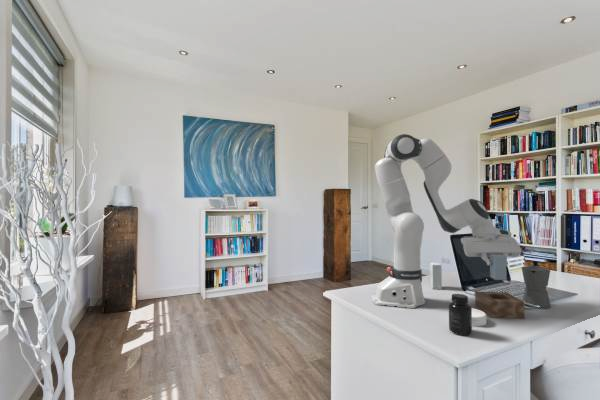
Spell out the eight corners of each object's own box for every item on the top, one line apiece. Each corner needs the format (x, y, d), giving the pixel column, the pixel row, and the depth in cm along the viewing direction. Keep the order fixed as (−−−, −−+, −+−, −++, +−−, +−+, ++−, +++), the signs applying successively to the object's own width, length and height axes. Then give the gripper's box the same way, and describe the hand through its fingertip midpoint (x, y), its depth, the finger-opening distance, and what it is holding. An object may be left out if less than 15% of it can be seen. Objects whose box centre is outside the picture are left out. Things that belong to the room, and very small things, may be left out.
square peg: (495, 279, 116) (494, 256, 116) (490, 277, 120) (489, 254, 120) (506, 279, 116) (505, 256, 116) (501, 277, 120) (500, 254, 120)
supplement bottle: (476, 335, 98) (476, 298, 98) (456, 336, 98) (456, 299, 98) (463, 326, 105) (463, 292, 105) (444, 327, 104) (444, 292, 104)
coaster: (458, 325, 107) (458, 315, 107) (452, 315, 116) (452, 306, 116) (490, 328, 104) (490, 317, 104) (481, 317, 114) (481, 307, 114)
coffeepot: (549, 312, 117) (548, 265, 117) (519, 306, 124) (518, 262, 124) (552, 302, 128) (552, 259, 128) (525, 297, 135) (524, 256, 135)
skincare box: (442, 289, 148) (441, 265, 148) (432, 289, 149) (432, 264, 149) (439, 286, 154) (438, 262, 154) (430, 285, 155) (429, 262, 155)
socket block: (489, 317, 113) (488, 301, 113) (475, 306, 125) (475, 291, 125) (524, 318, 111) (524, 302, 111) (507, 307, 123) (506, 292, 123)
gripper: (461, 231, 127) (471, 259, 117) (514, 231, 124) (529, 260, 114) (457, 241, 131) (467, 268, 122) (509, 240, 128) (523, 269, 119)
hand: (498, 264), depth 118 cm, fingers closed on square peg, 4 cm apart
